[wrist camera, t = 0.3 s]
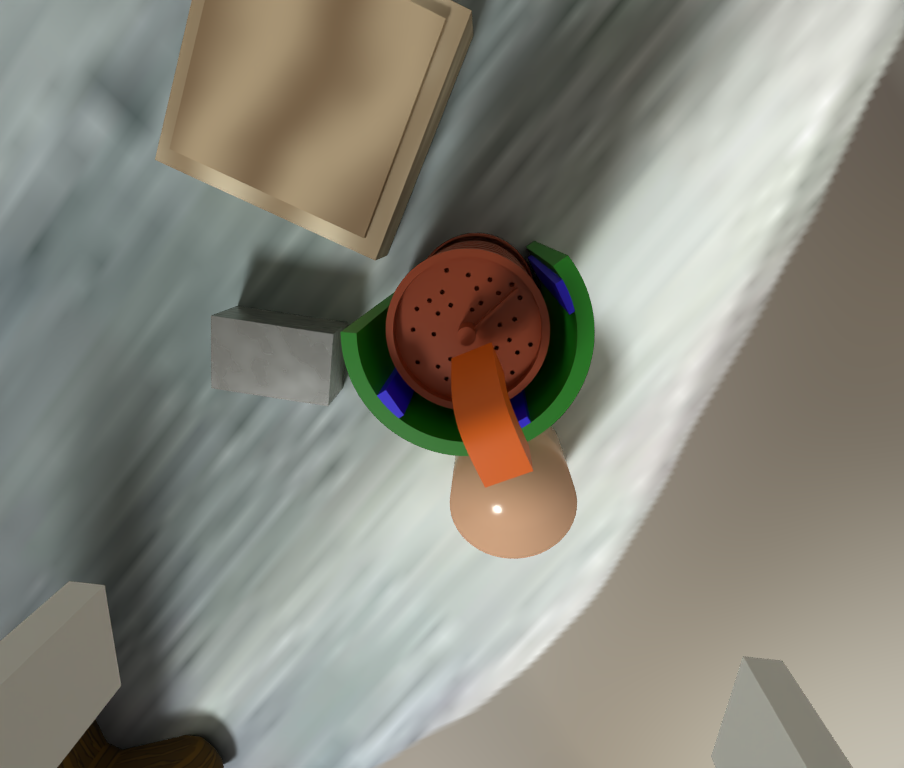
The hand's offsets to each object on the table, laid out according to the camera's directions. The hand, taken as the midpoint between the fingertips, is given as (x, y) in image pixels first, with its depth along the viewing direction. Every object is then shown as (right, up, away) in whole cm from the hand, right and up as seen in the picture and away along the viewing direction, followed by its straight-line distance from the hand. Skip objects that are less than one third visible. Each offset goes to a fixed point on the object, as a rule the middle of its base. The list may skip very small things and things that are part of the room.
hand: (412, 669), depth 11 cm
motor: (+3, +12, +25) cm, 28 cm away
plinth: (-7, +24, +22) cm, 33 cm away
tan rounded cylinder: (+5, 0, +29) cm, 29 cm away
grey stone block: (-11, +9, +27) cm, 31 cm away
